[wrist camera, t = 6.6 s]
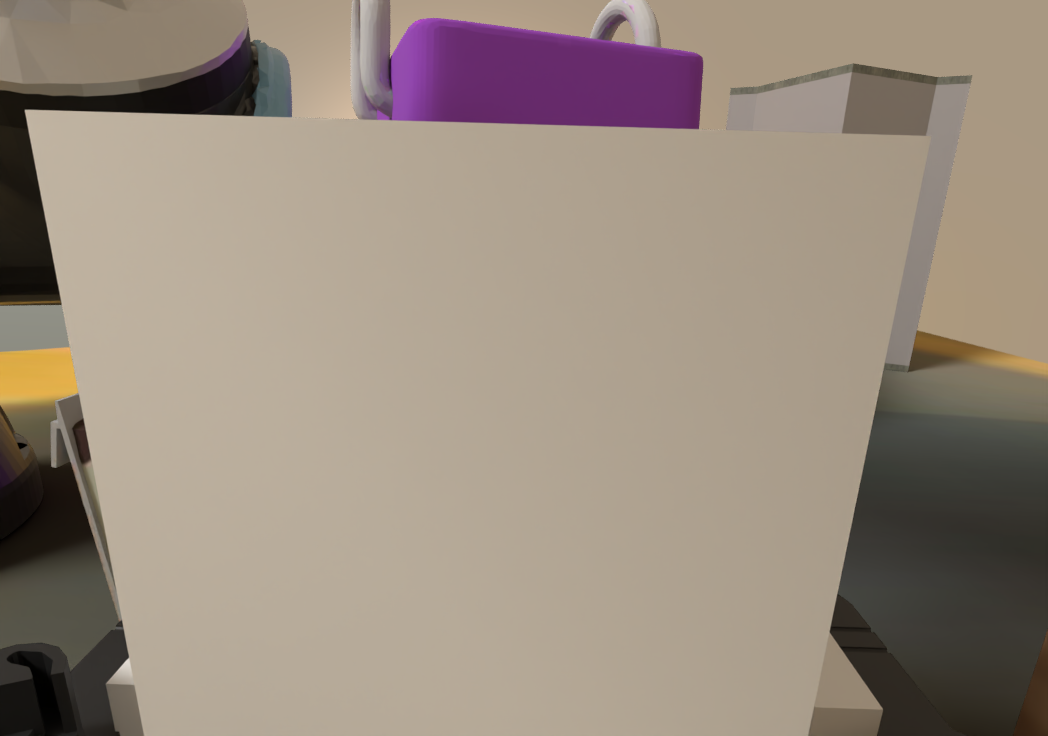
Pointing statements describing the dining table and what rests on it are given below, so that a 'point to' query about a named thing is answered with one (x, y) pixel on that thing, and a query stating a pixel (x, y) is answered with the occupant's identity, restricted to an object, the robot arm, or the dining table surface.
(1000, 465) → the dining table surface
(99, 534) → the food container
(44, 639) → the dining table surface
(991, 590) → the dining table surface
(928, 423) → the dining table surface
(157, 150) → the white rectangular box
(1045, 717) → the wooden holder
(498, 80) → the shopping bag
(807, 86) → the grey tall angular block
